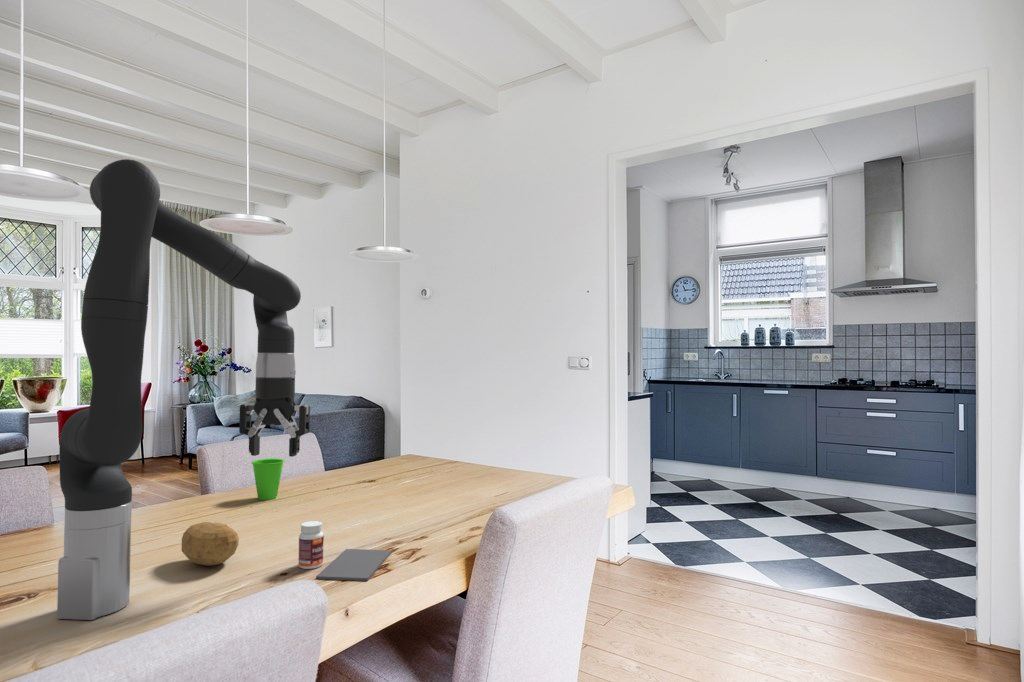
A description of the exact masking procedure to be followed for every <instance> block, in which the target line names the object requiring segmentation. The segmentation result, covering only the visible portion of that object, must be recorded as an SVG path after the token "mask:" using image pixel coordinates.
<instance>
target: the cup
mask: <svg viewBox="0 0 1024 682" xmlns="http://www.w3.org/2000/svg"><path fill="white" fill-rule="evenodd" d="M284 462H285V460H284V458H275V457H274V458H261V459H255V460H251V464H252V467H253V473H254V481H255V487H256V494H257V495H256V496H257V498H258V500H259V501H271V500H275V499H277V497H278V493H279V487H280V481H281V476H282V469H283V467H284V466H283V465H284Z"/></svg>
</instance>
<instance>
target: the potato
mask: <svg viewBox="0 0 1024 682" xmlns="http://www.w3.org/2000/svg"><path fill="white" fill-rule="evenodd" d="M181 537H182V538H181V551H182V554H183V555H185V557H186V558H187V559H188V560H189V561H190V562H191V563H194V564H197V565H202V566H206V567H207V566H209V567H210V566H211V567H212V566H217V565H220V564H223V563H225V562H227V560H229V558H231V557H232V556H234V555H235V554H236V551H237V549H238V548H239V547H238V546H239V540H240V538H239V535H238V533H237V531H236V530H235V529H234V528H232V527H231V526H229V525H227V524H225V523H221V522H210V521H202V522H199V523H195V524H193V525H190V526H189V527H188V528H187V529H186V530H185V531H184V532H183V534H182V536H181Z"/></svg>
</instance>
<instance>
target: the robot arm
mask: <svg viewBox="0 0 1024 682" xmlns="http://www.w3.org/2000/svg"><path fill="white" fill-rule="evenodd" d="M89 196H90V199H91V200H92V203H93V204H94V206H95V207H96V209H98V210H99V211H100V232H99V237H98V239H99V240H98V243H97V248H96V250H95V254H94V256H93V259H92V261H91V265H90V268H89V270H88V276H87V278H86V283H85V286H84V287H85V288H84V291H83V292H84V293H83V297H82V298H83V299H82V310H81V319H80V320H81V321H80V329H81V337H82V342H83V346H84V348H85V353H86V356H87V359H88V363H89V367H90V371H91V380H92V381H91V385H92V386H91V392H90V393H91V396H90V402H89V407H87V408H83V409H80V410H78V411H77V412H75V413H73V414H72V415H71V416H70V417H69V418H68V419H67V420H66V421H65V423H64V425H63V426H62V428H61V433H60V436H59V437H60V438H59V446H58V447H59V448H58V449H59V455H58V456H59V484H60V490H61V492H62V494H63V497H64V525H63V526H64V527H63V531H64V533H63V557H60V558H59V559H58V562H57V564H58V565H57V567H58V568H57V602H56V603H57V604H56V605H57V606H56V619H58V620H59V619H60V620H63V619H64V620H79V621H80V620H82V621H83V620H84V621H86V620H87V621H92V620H95V619H98V618H100V617H103V616H106V615H110V614H113V613H115V612H117V611H119V610H122V609H123V608H125V607H127V606H128V605H129V603H130V595H131V593H130V590H131V588H130V585H131V552H132V549H131V546H132V545H131V544H132V543H131V542H132V541H131V540H132V510H133V509H132V507H133V505H132V502H133V487H132V485H131V483H130V482H129V481H128V480H127V478H126V477H125V474H124V472H123V470H122V469H123V468H122V464H123V463H125V462H126V461H128V460H130V459H131V458H132V457H133V456H134V455H135V453H136V452H137V451H138V448H139V447H140V444H141V441H142V435H143V414H142V413H143V407H142V406H143V405H142V373H143V372H142V371H143V364H144V352H145V351H144V350H145V339H146V338H145V336H146V330H147V323H148V314H149V313H148V310H149V293H150V292H149V291H150V274H151V273H150V271H151V268H150V267H151V263H150V262H151V261H150V260H151V259H150V257H151V245H152V244H151V242H152V239H155V240H157V241H159V242H161V243H163V244H164V245H165V246H168V247H169V248H171V249H173V250H174V251H176V252H177V253H179V254H181V255H183V256H184V257H186V258H188V259H189V260H191V261H193V262H194V263H195V264H197V265H199V266H200V267H201V268H203V269H204V270H206V271H208V272H209V273H210V274H212V275H214V276H215V277H217V279H220V280H221V281H223V282H224V283H226V284H228V285H229V286H231V287H232V288H235V289H238V290H243V291H246V292H248V293H250V294H251V295H253V301H252V304H253V305H252V307H253V311H254V312H253V313H254V317H255V318H254V319H255V324H256V328H257V356H256V361H255V362H256V363H255V391H254V392H255V396H254V397H255V403H254V404H250V403H245V404H240V406H239V426H238V427H239V429H238V432H239V433H240V434H241V435H245V436H247V437H248V453H250V455H251V456H253V457H254V456H255V457H256V456H258V455H260V447H261V446H260V445H261V437H260V436H259V434H261V432H262V431H263V429H264V428H265V427H266V426H271V425H275V426H282V427H283V428H284V430H286V431H287V433H288V435H289V436H290V438H288V444H289V445H288V456H289V457H290V458H293V457H296V456H297V455H298V453H300V450H301V449H300V448H301V447H300V445H301V444H300V441H301V440H300V439H301V436H304V435H307V434H309V433H310V431H311V430H310V429H311V428H310V426H311V425H310V424H311V423H310V422H311V420H310V419H311V407H310V405H309V404H303V405H301V404H300V405H297V404H296V402H295V397H296V393H295V392H296V374H297V371H296V359H295V331H294V329H293V327H292V326H291V325H289V323H288V315H287V312H289V311H291V310H293V309H295V308H297V306H298V305H299V304H300V301H301V297H302V295H301V293H302V292H301V289H300V288H299V286H298V285H297V283H296V282H295V281H294V280H293V279H291V278H290V277H289V276H287V275H286V274H284V273H283V272H280V271H279V270H277V269H275V268H273V267H271V266H269V265H267V264H264V263H263V262H261V261H259V260H256V259H255V258H254V257H253V256H251V254H250V253H247V252H246V251H245V250H244V249H242V248H240V247H239V246H238V245H236V244H235V243H233V242H232V241H230V240H228V239H227V238H225V237H223V236H221V235H219V234H218V233H216V232H214V231H211V230H209V229H207V228H205V227H203V226H200V225H198V224H196V223H194V222H192V221H190V220H188V219H186V218H185V217H183V216H181V215H180V214H178V213H176V212H175V211H173V210H172V209H171V208H169V207H168V206H166V204H164V203H163V202H161V200H160V199H161V189H160V184H159V181H158V179H157V177H156V175H155V174H154V172H153V171H152V170H151V169H150V168H149V167H148V166H146V165H145V164H144V163H142V162H140V161H137V160H134V159H129V158H128V159H127V158H125V159H119V160H115V161H113V162H110V163H108V164H107V165H105V166H104V167H102V169H101V170H100V171H99V172H98V173H97V174H95V176H94V177H93V179H91V182H90V186H89ZM254 412H255V414H256V415H257V417H256V419H255V421H253V423H252V415H253V414H254ZM295 412H296V414H297V416H298V426H297V422H296V420H295V419H294V417H293V414H295Z"/></svg>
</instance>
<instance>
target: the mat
mask: <svg viewBox="0 0 1024 682" xmlns="http://www.w3.org/2000/svg"><path fill="white" fill-rule="evenodd" d="M391 554H392V550H391V549H390V550H388V549H387V550H386V549H362V548H361V549H358V548H356V549H355V548H345V550H343V551H342V552H341V553H340V554H339V555H338V556H336V558H335V559H333V560H332V561H331V562H330V563H329V564H327V566H326V567H325V568H324V569H322V571H320V572H319V573H318V574H317V575H316V576H315V580H335V581H358V582H360V581H362V582H364V581H365V582H368V581H369V580H370V579H371V578H372V576H374V574H375V573H376V572H377V571H378V570H379V568H380V567H381V566H382V565H383V564H384V562H385V561H386V560H387V559H388V558H389V557H390V555H391Z"/></svg>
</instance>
